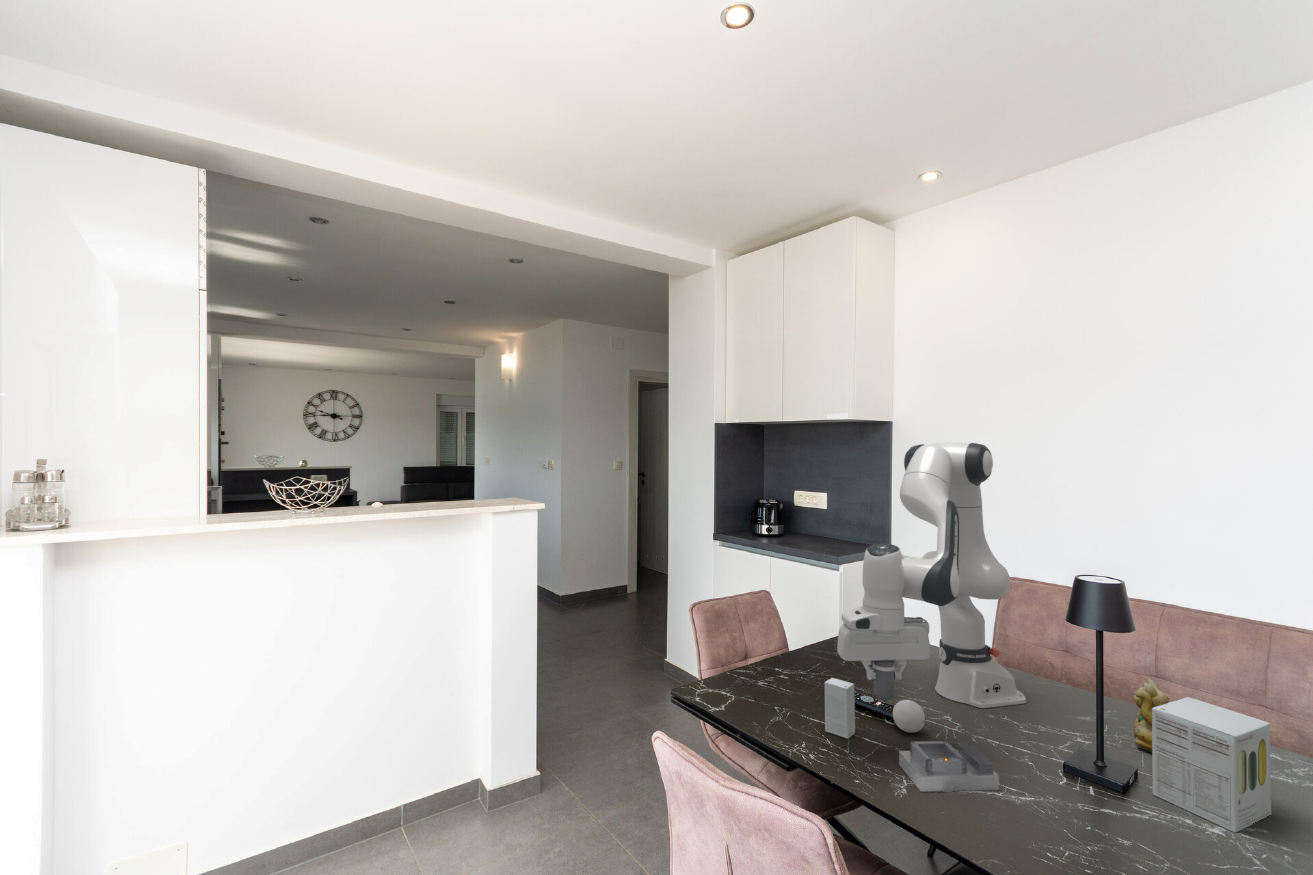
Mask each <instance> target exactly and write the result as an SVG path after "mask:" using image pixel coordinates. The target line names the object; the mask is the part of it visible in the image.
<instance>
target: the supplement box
mask: <svg viewBox="0 0 1313 875" xmlns="http://www.w3.org/2000/svg"><path fill="white" fill-rule="evenodd" d="M1151 753H1152V757H1151V758H1152V760H1151V761H1152V766H1151V767H1152V795H1154V796H1155V797H1158V798H1159V799H1162V800H1164V801H1166V802H1168V803H1171V804H1173V805H1175V806H1176V807H1179V808H1181V809H1183V810H1185V811H1188V812H1189V813H1191V814H1194V815H1196V816H1198V817H1200V818H1202V819H1205V820H1207V821H1208V822H1211V823H1213V824H1215V825H1218V826H1219V827H1221V828H1224V829H1226V830H1229V831H1230V832H1232V833H1234V834H1235V833H1238V832H1240V831H1242V830H1244V829H1246V828H1247V827H1251V826H1252V825H1254V824H1256V823H1255V822H1257V821H1259V820H1261V819H1262V818H1265V819H1266V817H1267V816H1269V815H1271V816H1272V781H1271V780H1272V779H1271V774H1272V773H1271V767H1272V766H1271V723H1270V722H1268V721H1265V720H1262V719H1259V718H1256V717H1253V716H1250V715H1246V714H1244V713H1240V712H1237V711H1234V710H1231V709H1227V708H1225V707H1221V706H1218V705H1215V704H1212V703H1208V702H1206V701H1202V700H1200V699H1195V698H1193V697H1190V696H1186V697H1183V698H1181V699H1178V700H1174V701H1170V702H1169V703H1167V704H1164V705H1160V706H1157V707H1154V708H1152V752H1151ZM1269 817H1270V816H1269ZM1267 818H1268V817H1267ZM1261 821H1262V820H1261ZM1259 822H1260V821H1259ZM1253 823H1254V824H1253ZM1257 823H1258V822H1257Z"/></svg>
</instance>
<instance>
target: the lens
mask: <svg viewBox="0 0 1313 875" xmlns="http://www.w3.org/2000/svg"><path fill="white" fill-rule="evenodd" d="M872 667H873V669H872V670H874V671H875V672H876V676H875V677H876V680H873V696H875V697H876V698H879V699H883V700H891V699H894V698H895V697H896V696H895V680H894V670H895V669H896V666H895V660H879V661H873V662H872Z"/></svg>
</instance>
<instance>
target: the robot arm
mask: <svg viewBox="0 0 1313 875" xmlns="http://www.w3.org/2000/svg"><path fill="white" fill-rule="evenodd" d="M903 465H904V474H903V478H902V481H901V485H900V490H899V498H900V501H901V503H902V505H903V507H904V508H905V509H906V511H908V512H909V513H910V514H912V515H913V516H914V517H916V518H918V519H920V520H922V521H924V522H927V523H929V524H931V525H933V526H934V527H936V528H937V534H936V535H937V538H936V539H937V541H936V550H931V551H928V552H926V553H925V554H924V555H923V556H922V557H915V556H909V555H904V554H902V552H901V548H900V547H899V546H897V545H895V544H891V543H876V544H872V545H870V546H868V547H867V548H866V549H865V552H864V556H863V563H862V564H863V565H862V586H863V590H864V591H863V592H864V595H863V599H862V605H861V606H859V607H856V608H853V609H850V610H847V611H845V612H842V614H841V621H842V622H843V624H841V625H840V626H839V630H838V634H837V645H836V646H837V647H836V648H837V649H836V650H837V653H838V655H839V657H840V658H841V659H843V660H844V661H846V662H855V661H856V662H857V661H858V662H859V661H860V662H861V664H862V665H863V667H864V668H865V670H866V678H867V680H868V681H869V680H870V681H872V680H873V681H874V680H876V677H875V676H876V672H875V671H874V670H873V669H871V667H870V666H872V665H871V664H872V661H879V660H894V661H896V662H897V665H896V666H895V670H894V681H895V680H897V681H899V680H902V672H903V671H904V670H905V668H906V667H907V661H928V660H929V659H930V657H931V654H932V653H931V643H930V637H929V634H930V624H929V622H928V620H926V619H925V618H923V617H922V616H917V617H912V616H911V617H910V616H905V602H904V598H905V599H910V600H915V601H921V602H925V603H928V604H930V605H935V606H937V608H938V611H939V617H940V618H939V619H940V639H939V645H938V646H939V649H938V651H939V652H938V653H939V655H938V657H939V671H938V675H937V681H936V685H935V686H934V690H935V692H936V693H937V694H939V695H941V696H942V697H944V698H946V699H948V700H951V701H955V702H957V703H963V704H967V705H970V706H972V707H975V708H978V709H988V708H996V707H1004V706H1006V707H1007V706H1013V705H1021V704H1027V698H1026V696H1025V695H1024V694H1023V693H1022V691H1019V690H1018V689H1017V686H1016V681H1015V678H1014V676H1013V675H1012V674H1011V672H1009V671H1008V670H1007V669H1005V667H1003V666H1002V665H1001V664H999V663H998V662H997V661H996V660H994V659H993V658H992V656H993V657H995V658H998V657H999V656H1000V654H1001V652H1000V651H999V650H998V649H996V647H990V646H989V645H987V644H986V620H985V617H984V615H983V613H982V612H981V611H980V610H979V609H978V608H977V607H976V605H975V604H974V603H973V601H972V599H971V598H975V599H978V600H991V601H992V600H1000V599H1003V597H1004V596H1006V594H1007V593H1008V591H1009V590H1010V586H1011V585H1010V584H1011V578H1010V575H1009V572H1008V570H1007V568H1006V567H1005V566H1004V565H1003V564H1002V563H1001V562H999V561H998V558H996V557H995V555H994V554H993V552H992V550H991V548H990V546H989V544H988V541H987V538H986V536H985V528H984V516H983V498H982V489H981V484H982V483H984V482H986V480H988V478H990V476H991V475H992V471H993V467H994V461H993V455H992V453H991V450H990V449H989V448H988V447H987V446H986V445H985V444H981V443H977V442H970V443H966V442H944V443H942V442H941V443H931V444H923V443H921V444H917V445H913V446H911V447H910V448H909V449H908V450H907V451H906V453H905V454H904V461H903Z"/></svg>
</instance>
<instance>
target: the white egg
mask: <svg viewBox="0 0 1313 875" xmlns="http://www.w3.org/2000/svg"><path fill="white" fill-rule="evenodd" d="M923 710H924V709H923V707H921V706H920V705H919V704H918V703H917V702H915V701H914V700H911V699H901V700H900V701H898V702H897V703H896V704H895V705H894V706H893V709H892V717H893V720H894V723H895V724H896V726H897V727H898V728H899V729H900V730H901V731H904V732H905V733H911V734H912V733H917V732H919V731H921V730H922V729H923V728H924V725H925V722H926V720H927V719H926V715H925V712H924V711H923Z"/></svg>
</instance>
